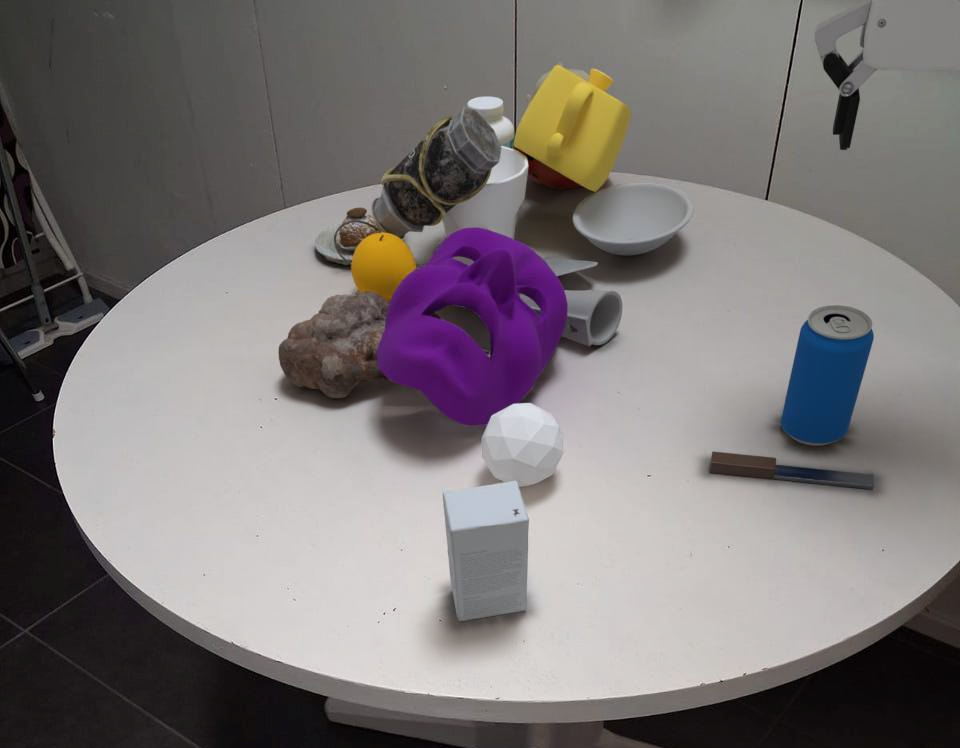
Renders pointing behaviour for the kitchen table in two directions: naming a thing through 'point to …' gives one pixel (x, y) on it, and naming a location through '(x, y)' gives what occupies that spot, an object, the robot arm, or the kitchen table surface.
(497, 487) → the cosmetic box
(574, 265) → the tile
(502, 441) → the geometric ball
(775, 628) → the kitchen table surface
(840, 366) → the beverage can
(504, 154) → the cup
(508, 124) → the pill bottle
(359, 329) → the rock
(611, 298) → the grey hollow tube
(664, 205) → the dish
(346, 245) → the pastry
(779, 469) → the knife
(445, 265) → the mask
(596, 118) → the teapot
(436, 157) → the lantern
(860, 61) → the robot arm
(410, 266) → the apple
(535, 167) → the toy
